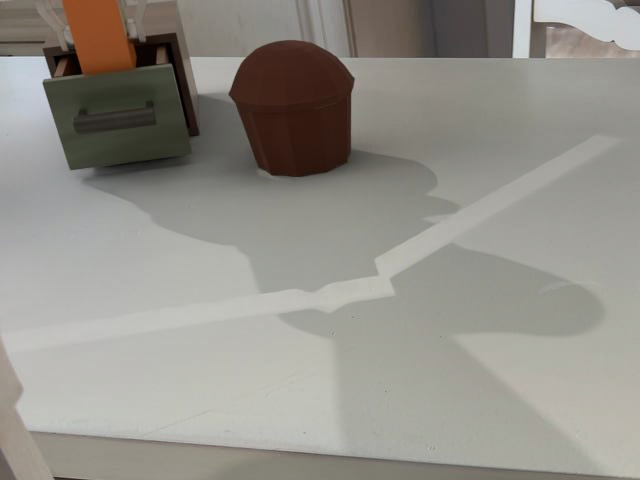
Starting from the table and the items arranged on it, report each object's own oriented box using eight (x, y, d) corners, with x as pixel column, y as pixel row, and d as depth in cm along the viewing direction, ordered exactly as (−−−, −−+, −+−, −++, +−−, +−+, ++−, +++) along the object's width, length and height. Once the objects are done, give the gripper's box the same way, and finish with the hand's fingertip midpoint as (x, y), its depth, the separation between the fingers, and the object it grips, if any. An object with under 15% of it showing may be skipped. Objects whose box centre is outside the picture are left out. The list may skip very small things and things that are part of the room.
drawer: (192, 169, 93) (171, 79, 88) (65, 187, 92) (36, 96, 87) (191, 111, 108) (172, 30, 103) (81, 125, 106) (56, 44, 101)
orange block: (84, 80, 92) (60, 0, 88) (88, 64, 97) (66, -13, 93) (135, 74, 93) (114, -5, 89) (137, 58, 98) (118, -18, 93)
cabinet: (199, 134, 104) (176, 32, 98) (74, 151, 103) (41, 48, 96) (197, 93, 116) (176, -1, 110) (85, 107, 114) (57, 13, 108)
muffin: (389, 151, 97) (376, 36, 90) (308, 189, 90) (288, 68, 84) (300, 133, 103) (282, 24, 96) (218, 168, 96) (193, 53, 90)
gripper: (181, -150, 89) (217, 25, 98) (-63, -127, 86) (-4, 50, 95) (181, -143, 84) (219, 40, 93) (-78, -119, 81) (-14, 67, 90)
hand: (104, 45), depth 94 cm, fingers closed on orange block, 5 cm apart
